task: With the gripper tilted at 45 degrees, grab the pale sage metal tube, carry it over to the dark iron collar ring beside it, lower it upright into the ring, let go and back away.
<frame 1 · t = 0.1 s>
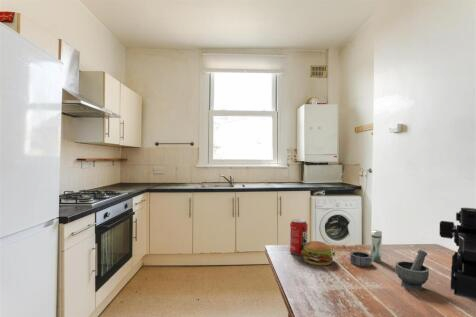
hand: (470, 229, 108), 17 cm above the table, tool horizontal, fingers open, 9 cm apart
soda can: (298, 253, 125), on the table
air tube: (376, 260, 118), on the table
collar ring: (360, 263, 114), on the table
mortar and pestle: (413, 286, 94), on the table
food: (318, 261, 116), on the table
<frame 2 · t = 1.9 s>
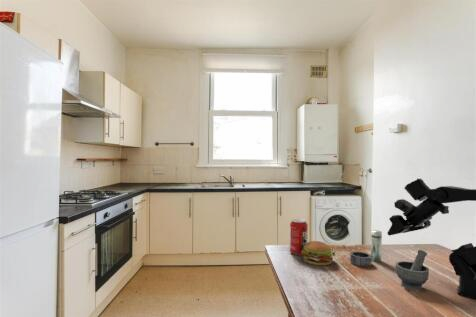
hand: (395, 233, 111), 14 cm above the table, tool tilted 45°, fingers open, 9 cm apart
nothing on the table moved.
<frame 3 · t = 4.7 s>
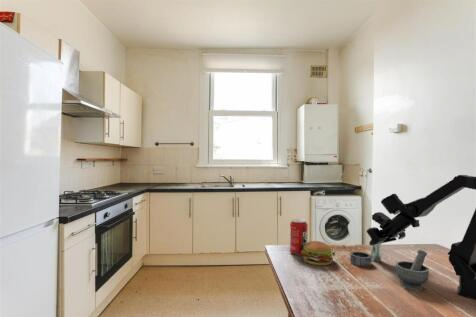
hand: (373, 243, 119), 7 cm above the table, tool tilted 45°, fingers closed on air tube, 4 cm apart
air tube: (375, 260, 118), on the table, touching gripper
everything else where it was.
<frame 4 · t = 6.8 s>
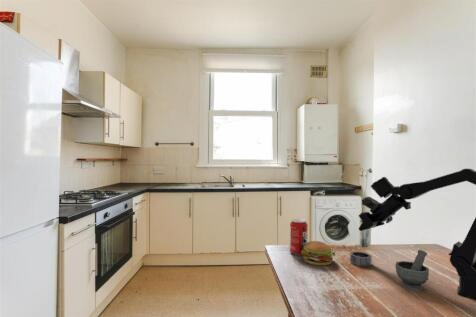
hand: (361, 229, 117), 14 cm above the table, tool tilted 45°, fingers closed on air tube, 4 cm apart
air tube: (364, 245, 116), point 7 cm above the table, touching gripper
everything else where it was.
when the fingers open (8 cm above the table, at t = 9.1 s): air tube drops 1 cm, resting in collar ring.
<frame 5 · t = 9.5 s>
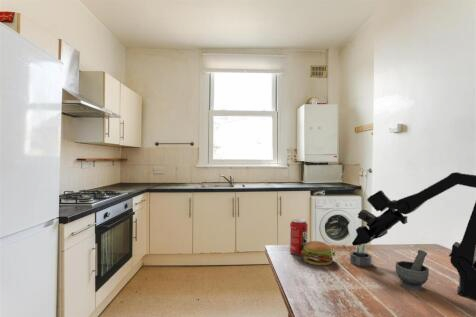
hand: (357, 242, 115), 8 cm above the table, tool tilted 45°, fingers open, 9 cm apart
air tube: (360, 263, 114), resting in collar ring
everything else where it was.
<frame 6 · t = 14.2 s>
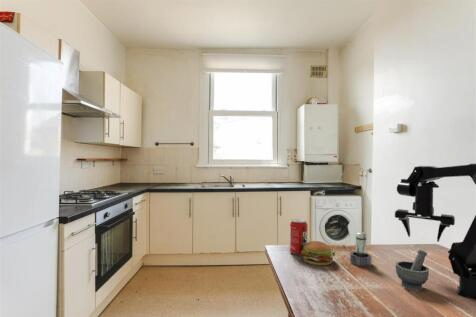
hand: (423, 239, 105), 13 cm above the table, tool pointing down, fingers open, 9 cm apart
nothing on the table moved.
at the end: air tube 0.0 cm off-centre on the collar ring, point 0.0 cm above the collar ring's base; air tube tilted 0°; the gripper is holding nothing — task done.
